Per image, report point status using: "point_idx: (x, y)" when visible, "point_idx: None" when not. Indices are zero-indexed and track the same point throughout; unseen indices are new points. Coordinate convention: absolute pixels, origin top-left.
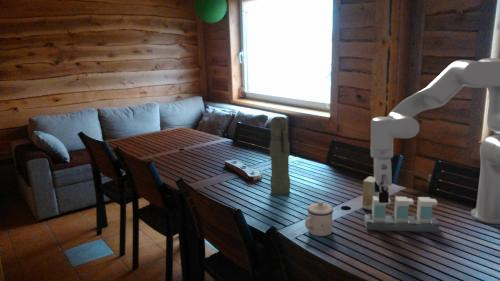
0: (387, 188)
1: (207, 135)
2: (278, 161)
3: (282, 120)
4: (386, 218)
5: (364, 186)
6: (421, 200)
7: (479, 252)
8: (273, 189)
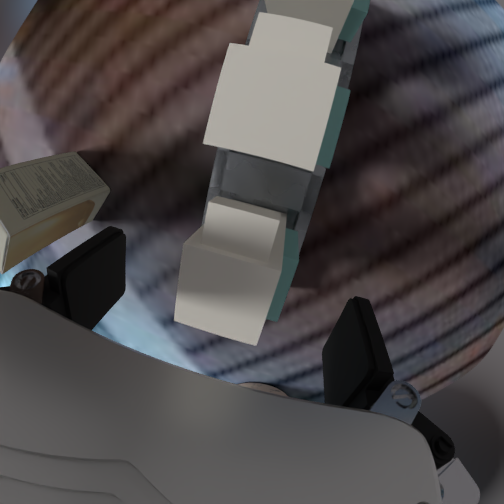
0: (453, 454)
1: None
2: None
3: None
4: (258, 195)
5: (24, 256)
6: None
7: (487, 14)
8: None
